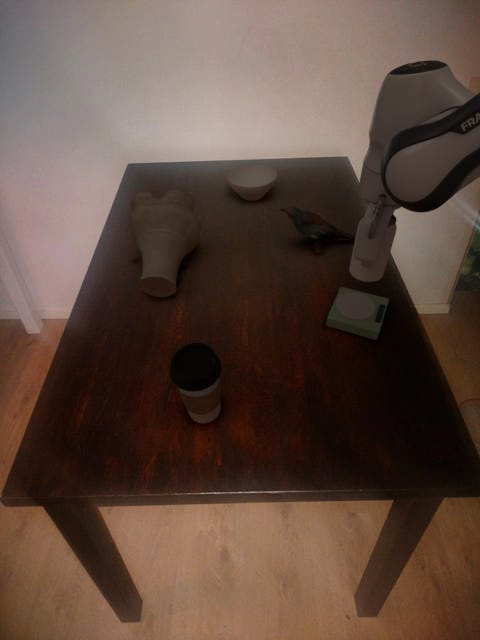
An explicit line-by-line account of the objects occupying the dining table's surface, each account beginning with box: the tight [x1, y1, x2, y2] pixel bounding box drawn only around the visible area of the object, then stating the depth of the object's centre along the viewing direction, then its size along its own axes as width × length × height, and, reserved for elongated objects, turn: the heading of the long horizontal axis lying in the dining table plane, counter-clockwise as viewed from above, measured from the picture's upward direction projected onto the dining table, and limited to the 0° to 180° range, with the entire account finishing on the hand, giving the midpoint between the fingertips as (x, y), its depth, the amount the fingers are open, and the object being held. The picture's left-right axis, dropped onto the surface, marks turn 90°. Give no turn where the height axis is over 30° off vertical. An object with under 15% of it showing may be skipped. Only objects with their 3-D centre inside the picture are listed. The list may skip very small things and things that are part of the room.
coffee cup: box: [169, 342, 223, 424], centre depth 66 cm, size 8×8×15 cm
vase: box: [129, 189, 203, 298], centre depth 93 cm, size 22×22×28 cm
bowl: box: [226, 162, 278, 202], centre depth 123 cm, size 16×16×7 cm
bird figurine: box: [279, 205, 356, 254], centre depth 101 cm, size 13×10×20 cm
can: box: [349, 211, 398, 283], centre depth 70 cm, size 6×6×12 cm
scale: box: [325, 286, 390, 341], centre depth 84 cm, size 11×11×3 cm
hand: (370, 252), depth 71 cm, fingers closed on can, 6 cm apart
